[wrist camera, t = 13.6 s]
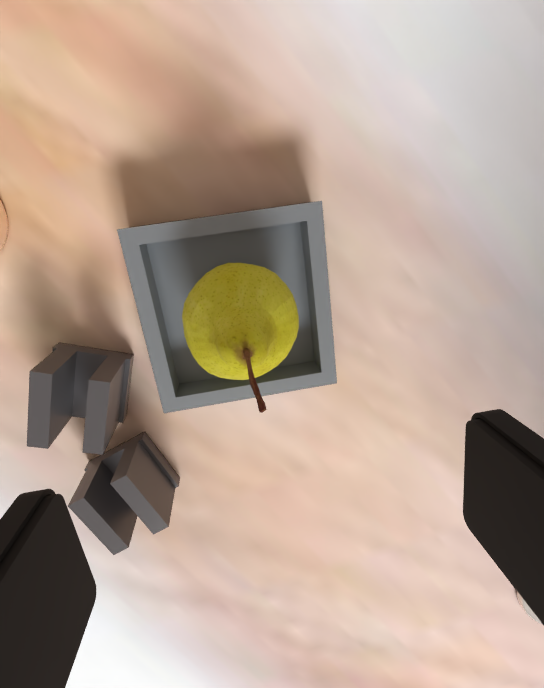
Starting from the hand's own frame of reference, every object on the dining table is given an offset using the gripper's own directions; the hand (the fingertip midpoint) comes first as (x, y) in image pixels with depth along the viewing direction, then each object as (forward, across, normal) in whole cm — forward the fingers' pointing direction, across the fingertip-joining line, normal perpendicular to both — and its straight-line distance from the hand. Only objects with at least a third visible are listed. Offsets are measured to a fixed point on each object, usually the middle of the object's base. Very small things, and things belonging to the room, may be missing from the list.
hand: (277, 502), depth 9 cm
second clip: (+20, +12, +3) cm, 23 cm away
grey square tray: (+20, 0, -1) cm, 20 cm away
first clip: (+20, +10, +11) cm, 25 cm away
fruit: (+19, 0, 0) cm, 19 cm away
